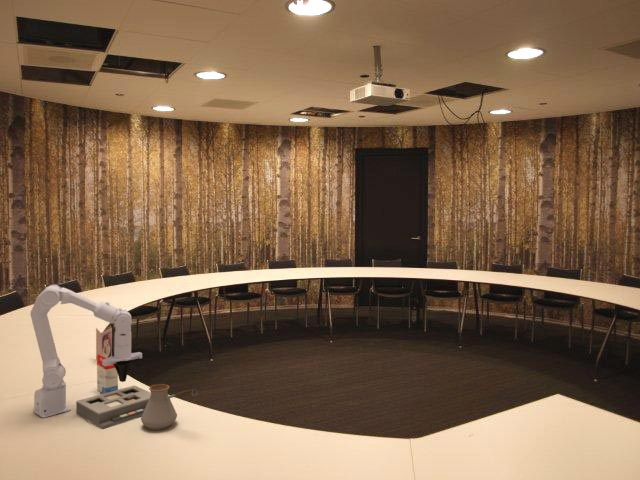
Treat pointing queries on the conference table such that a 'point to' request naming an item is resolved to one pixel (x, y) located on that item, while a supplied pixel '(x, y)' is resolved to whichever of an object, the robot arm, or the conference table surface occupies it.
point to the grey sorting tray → (116, 414)
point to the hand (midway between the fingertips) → (122, 381)
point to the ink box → (106, 376)
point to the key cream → (113, 404)
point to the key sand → (113, 397)
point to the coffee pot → (160, 408)
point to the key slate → (130, 397)
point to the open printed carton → (104, 343)
